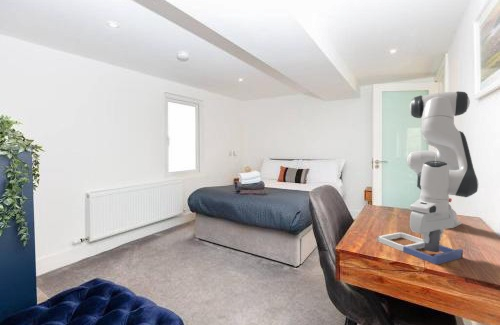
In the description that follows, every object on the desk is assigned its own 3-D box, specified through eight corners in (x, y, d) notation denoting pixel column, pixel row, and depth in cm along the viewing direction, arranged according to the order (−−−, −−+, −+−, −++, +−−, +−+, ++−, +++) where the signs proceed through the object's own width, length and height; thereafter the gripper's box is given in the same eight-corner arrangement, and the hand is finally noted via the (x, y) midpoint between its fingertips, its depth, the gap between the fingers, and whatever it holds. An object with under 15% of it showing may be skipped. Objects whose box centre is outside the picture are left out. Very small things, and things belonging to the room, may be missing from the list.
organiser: (400, 236, 115) (401, 229, 114) (462, 257, 92) (462, 249, 92) (376, 241, 109) (376, 234, 109) (436, 264, 87) (436, 256, 86)
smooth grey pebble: (429, 246, 98) (430, 226, 98) (441, 251, 94) (442, 229, 94) (421, 248, 96) (422, 227, 96) (434, 252, 92) (435, 231, 92)
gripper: (441, 201, 101) (440, 235, 102) (407, 205, 93) (405, 242, 94) (460, 204, 95) (458, 240, 96) (424, 209, 87) (422, 248, 88)
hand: (431, 241), depth 95 cm, fingers closed on smooth grey pebble, 4 cm apart
